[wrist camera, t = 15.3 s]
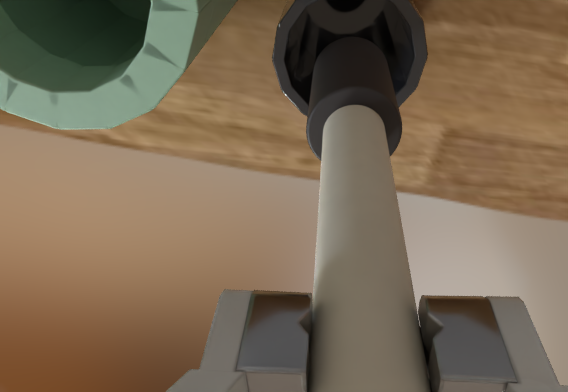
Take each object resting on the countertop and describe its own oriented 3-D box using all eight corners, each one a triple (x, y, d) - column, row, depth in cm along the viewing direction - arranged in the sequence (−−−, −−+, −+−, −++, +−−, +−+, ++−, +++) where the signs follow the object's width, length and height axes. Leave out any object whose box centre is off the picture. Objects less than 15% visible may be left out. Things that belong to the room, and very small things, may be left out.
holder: (283, -48, 24) (266, -20, 18) (412, -54, 23) (436, -28, 18) (289, 71, 27) (276, 127, 22) (402, 69, 27) (420, 126, 21)
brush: (312, 37, 18) (217, 646, 4) (390, 34, 18) (590, 684, 4) (314, 108, 20) (249, 730, 5) (386, 107, 19) (514, 763, 5)
